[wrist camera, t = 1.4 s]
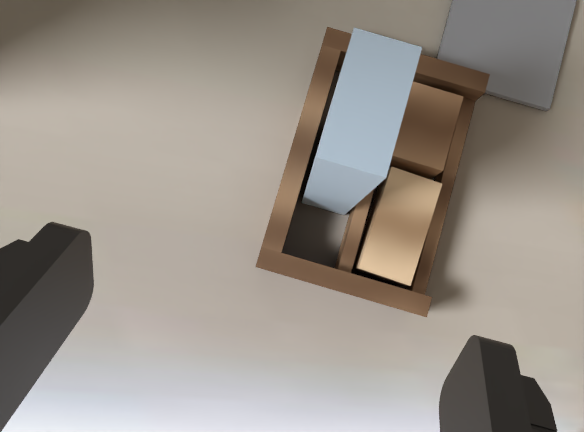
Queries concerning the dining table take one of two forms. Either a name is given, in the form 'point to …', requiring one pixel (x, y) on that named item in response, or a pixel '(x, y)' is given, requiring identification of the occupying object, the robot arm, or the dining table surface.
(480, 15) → the mat
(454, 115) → the offcut short
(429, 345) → the dining table surface
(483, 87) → the rack
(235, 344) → the dining table surface
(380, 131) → the pale blue tall prism
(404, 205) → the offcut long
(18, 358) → the robot arm
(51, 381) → the dining table surface
